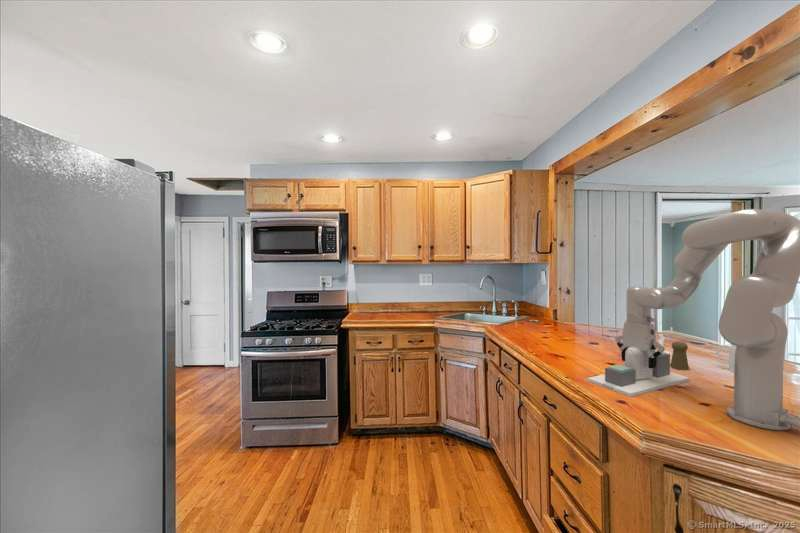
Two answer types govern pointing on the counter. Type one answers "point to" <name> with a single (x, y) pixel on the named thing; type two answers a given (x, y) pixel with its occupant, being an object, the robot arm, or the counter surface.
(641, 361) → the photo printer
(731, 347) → the cup
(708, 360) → the counter surface
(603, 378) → the mounting board
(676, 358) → the olive green bristly cone
